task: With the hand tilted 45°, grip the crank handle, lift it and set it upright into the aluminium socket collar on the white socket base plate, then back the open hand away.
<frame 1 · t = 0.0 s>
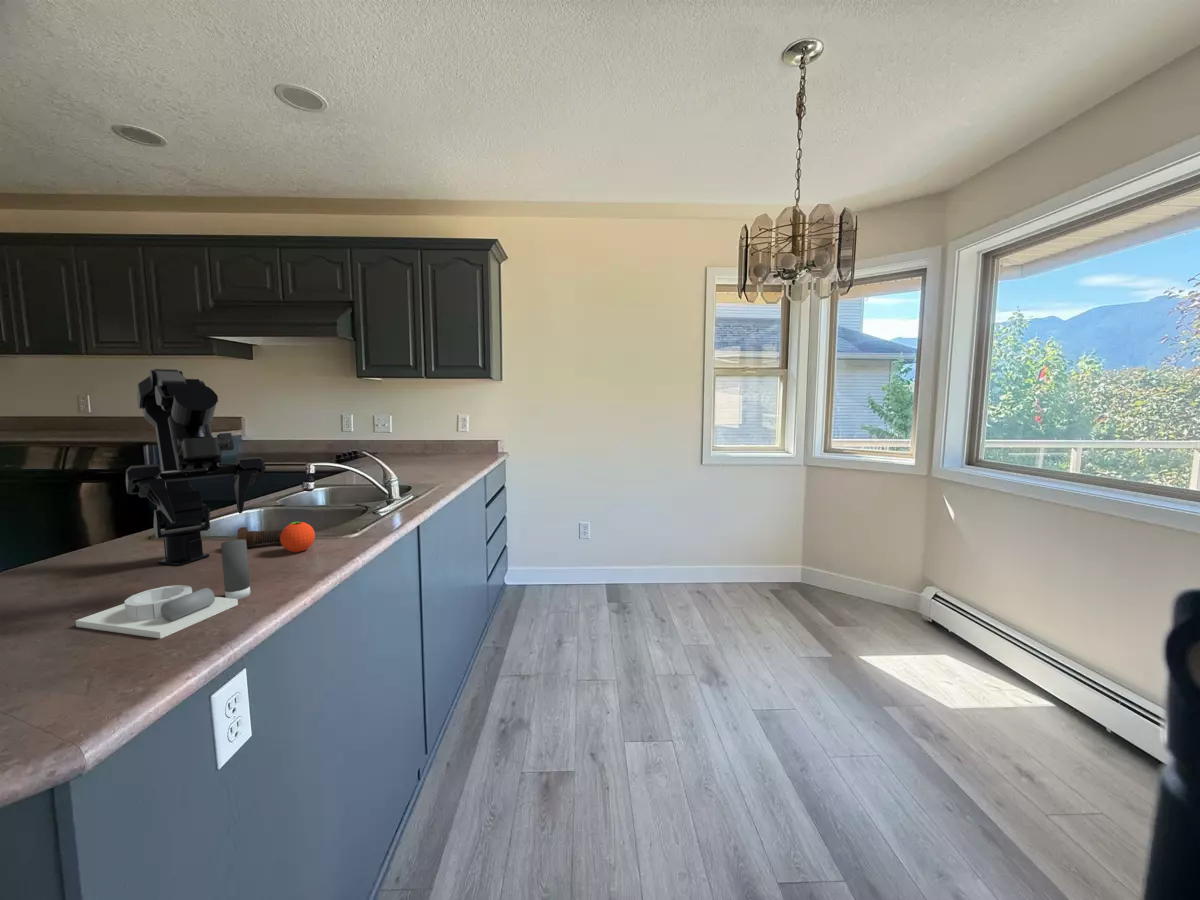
hand: (208, 517, 83), 15 cm above the worktop, tool tilted 35°, fingers open, 9 cm apart
crank handle: (238, 596, 86), on the worktop
bolt: (277, 546, 116), on the worktop
clementine: (297, 551, 111), on the worktop
white socket base plate: (161, 615, 78), on the worktop
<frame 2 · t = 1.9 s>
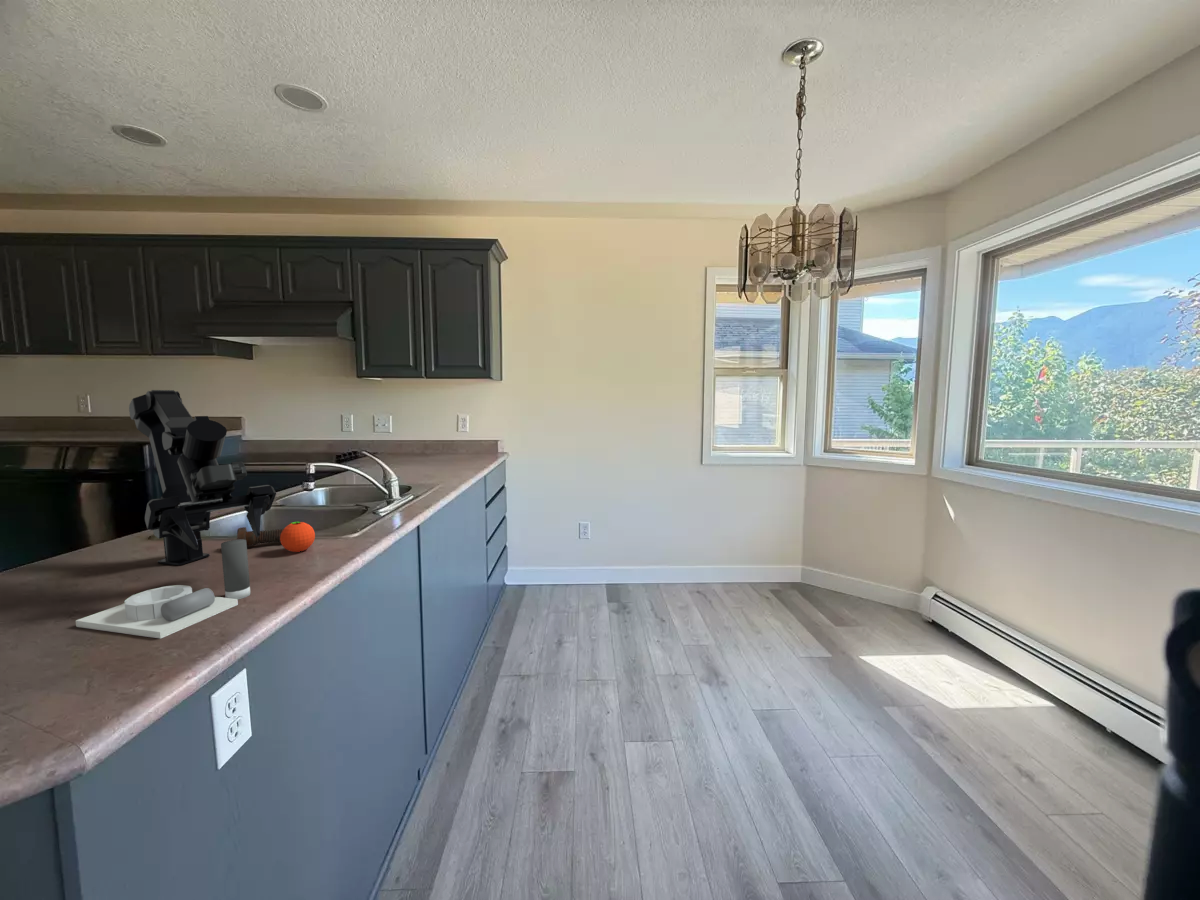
hand: (228, 541, 86), 10 cm above the worktop, tool tilted 45°, fingers open, 9 cm apart
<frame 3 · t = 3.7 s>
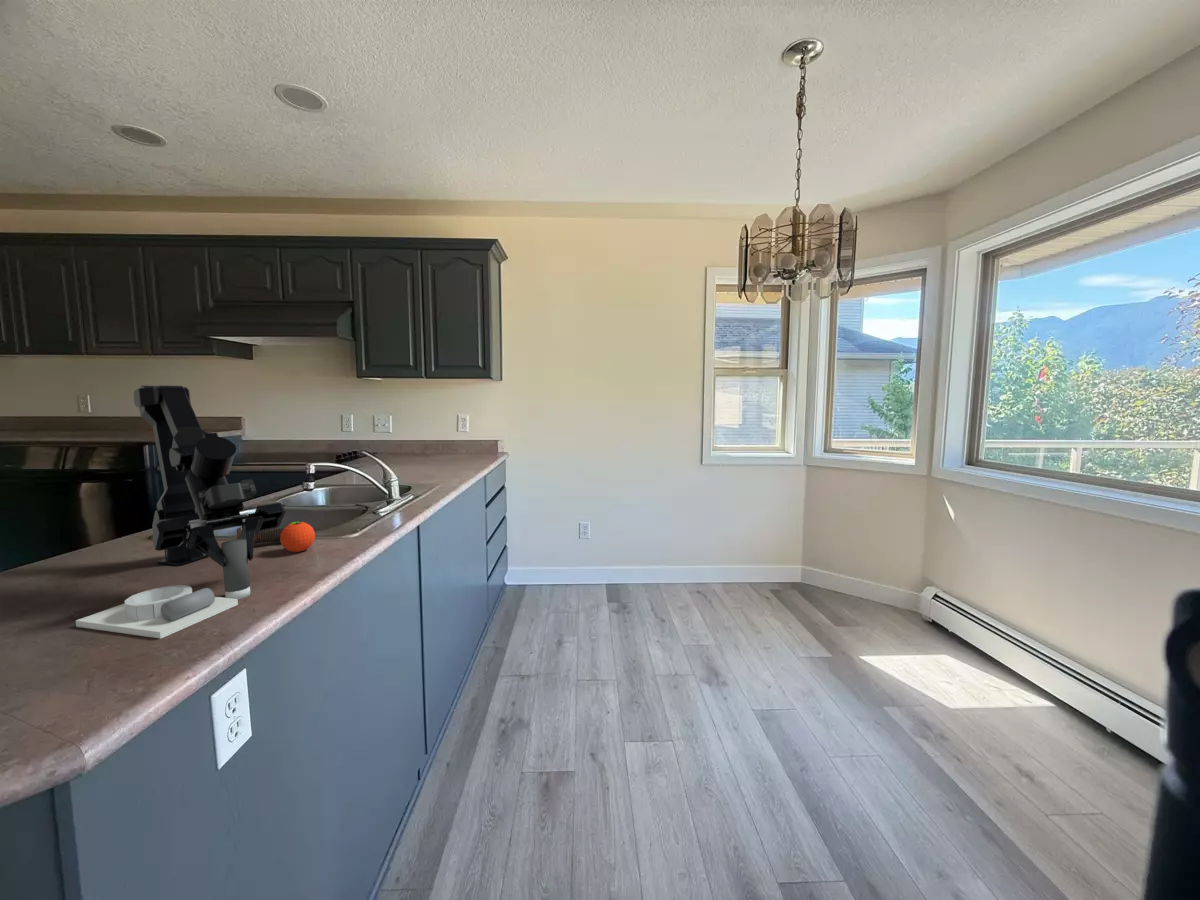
hand: (238, 562, 84), 7 cm above the worktop, tool tilted 45°, fingers closed on crank handle, 4 cm apart
crank handle: (238, 595, 86), on the worktop, touching gripper
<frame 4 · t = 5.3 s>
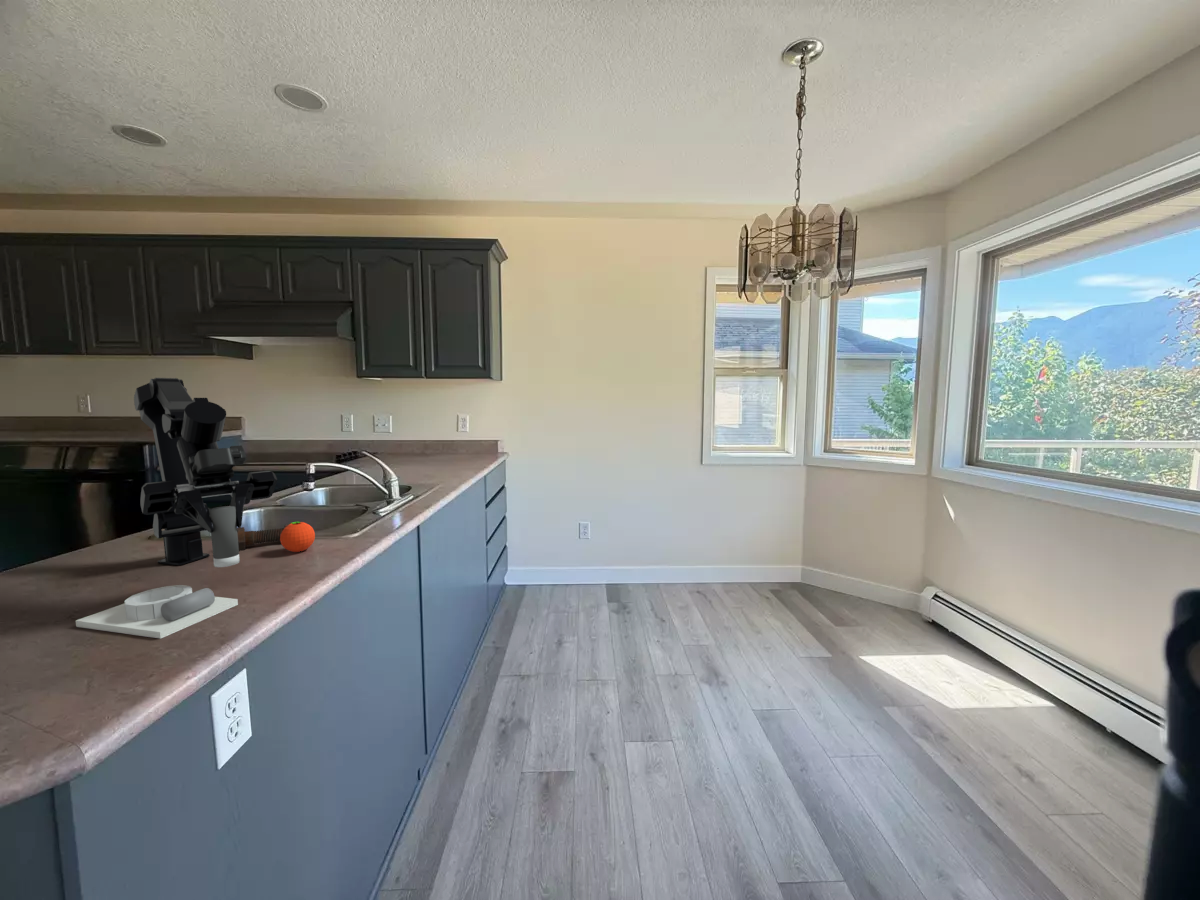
hand: (226, 528, 82), 13 cm above the worktop, tool tilted 45°, fingers closed on crank handle, 4 cm apart
crank handle: (226, 563, 84), point 6 cm above the worktop, touching gripper
when the fingers open (9 cm above the worktop, at t = 7.4 s): crank handle drops 1 cm, resting on white socket base plate.
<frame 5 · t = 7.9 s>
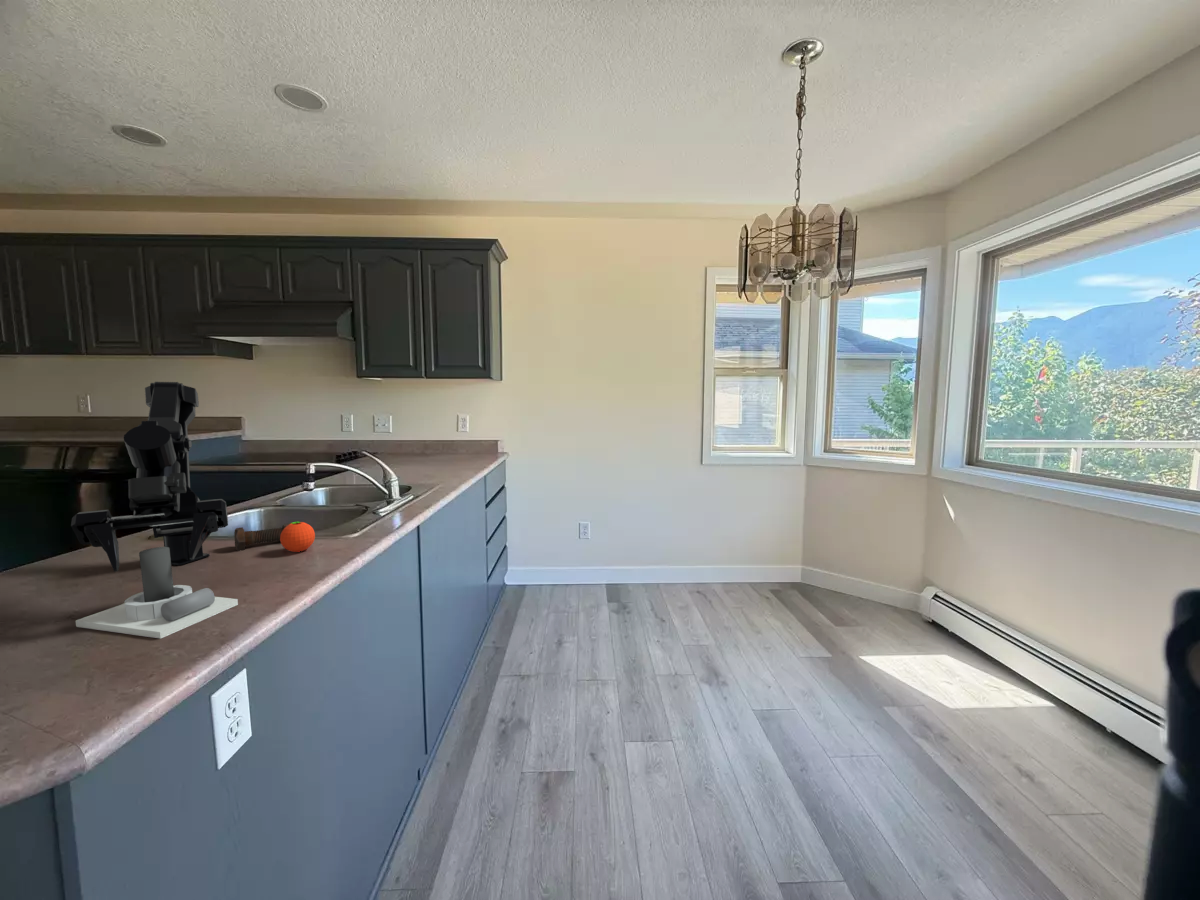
hand: (154, 564, 76), 9 cm above the worktop, tool tilted 45°, fingers open, 9 cm apart
crank handle: (160, 609, 78), point 1 cm above the worktop, touching white socket base plate
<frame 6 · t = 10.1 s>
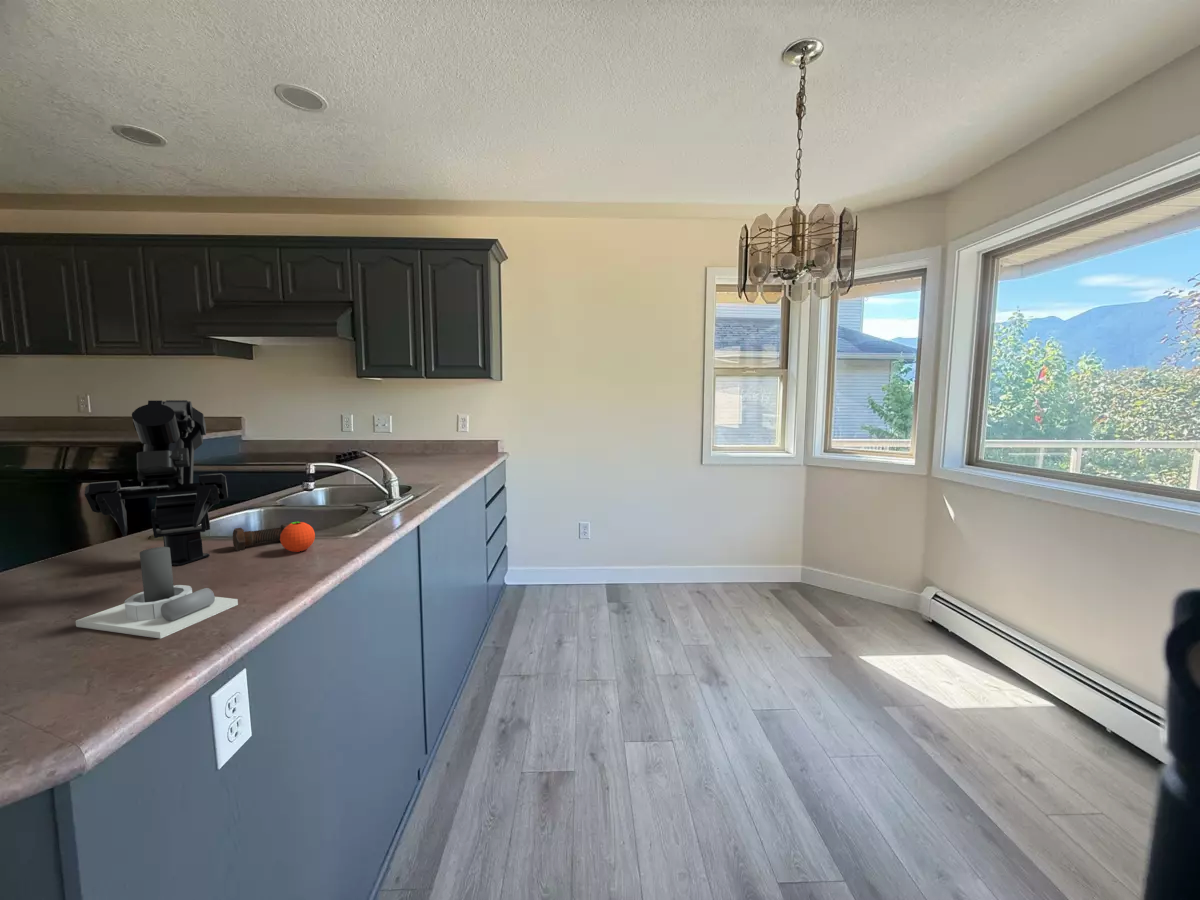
hand: (160, 530, 83), 12 cm above the worktop, tool tilted 45°, fingers open, 9 cm apart
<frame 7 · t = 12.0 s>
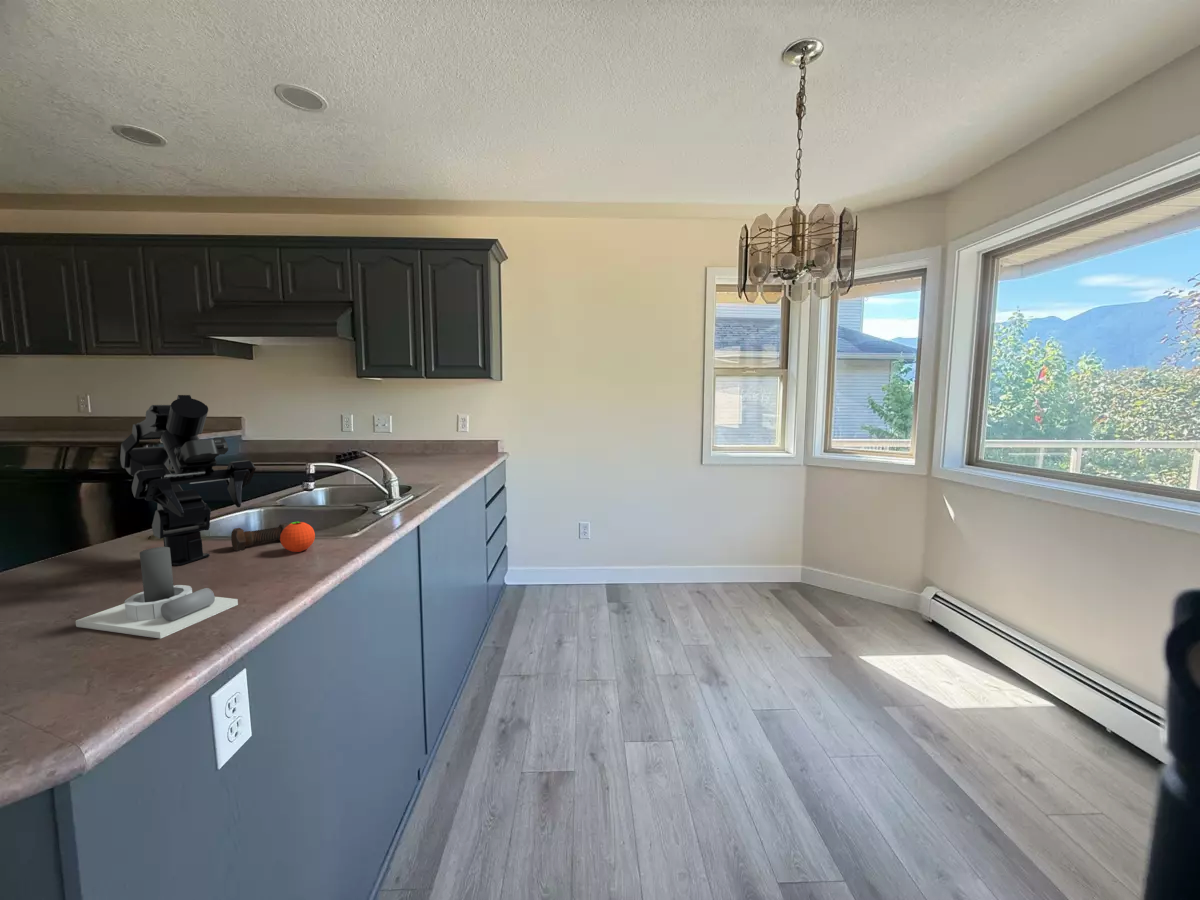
hand: (212, 510, 93), 14 cm above the worktop, tool tilted 45°, fingers open, 9 cm apart
at the end: crank handle 0.0 cm off-centre on the white socket base plate, point 1.0 cm above the white socket base plate's base; crank handle tilted 0°; the gripper is holding nothing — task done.
